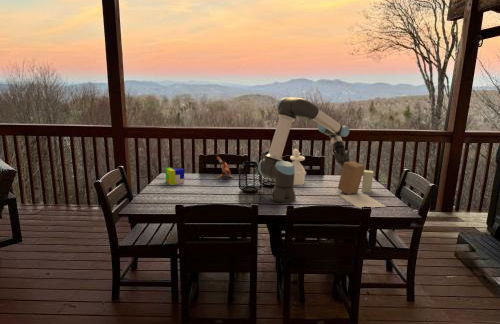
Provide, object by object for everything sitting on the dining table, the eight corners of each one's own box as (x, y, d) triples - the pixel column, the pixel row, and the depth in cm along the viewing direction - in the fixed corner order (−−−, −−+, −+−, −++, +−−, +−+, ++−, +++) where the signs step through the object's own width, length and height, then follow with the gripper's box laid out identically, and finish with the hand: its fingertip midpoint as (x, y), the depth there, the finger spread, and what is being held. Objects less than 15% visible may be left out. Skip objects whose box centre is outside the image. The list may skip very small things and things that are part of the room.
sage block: (361, 191, 227) (363, 171, 223) (362, 189, 232) (364, 169, 229) (370, 192, 224) (373, 172, 221) (371, 190, 230) (373, 170, 227)
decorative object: (282, 181, 247) (283, 148, 242) (297, 179, 253) (299, 147, 248) (294, 186, 234) (296, 152, 228) (309, 184, 240) (311, 150, 234)
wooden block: (348, 195, 218) (355, 167, 210) (336, 188, 225) (343, 161, 218) (358, 193, 223) (365, 165, 216) (346, 186, 231) (353, 160, 223)
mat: (340, 196, 215) (340, 195, 215) (365, 195, 219) (365, 194, 219) (358, 208, 193) (358, 207, 193) (385, 207, 197) (386, 206, 197)
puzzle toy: (184, 183, 236) (184, 169, 233) (171, 185, 230) (170, 171, 228) (179, 179, 244) (178, 166, 241) (165, 181, 238) (165, 168, 236)
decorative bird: (208, 168, 264) (216, 151, 262) (229, 177, 268) (237, 160, 265) (208, 178, 237) (216, 159, 234) (231, 187, 240) (240, 168, 238)
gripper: (343, 146, 243) (353, 174, 231) (327, 146, 240) (335, 174, 228) (348, 140, 237) (357, 168, 224) (331, 140, 234) (340, 169, 222)
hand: (346, 171), depth 226 cm, fingers closed
